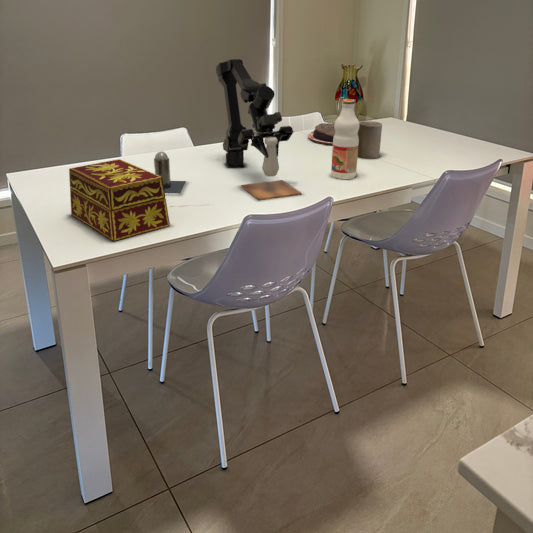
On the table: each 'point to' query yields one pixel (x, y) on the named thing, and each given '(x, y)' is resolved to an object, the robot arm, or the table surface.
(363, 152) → the pillar candle
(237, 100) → the robot arm
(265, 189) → the oak board
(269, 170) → the salt shaker
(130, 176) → the decorative box
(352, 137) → the fruit juice
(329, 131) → the chocolate cake
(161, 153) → the pepper shaker
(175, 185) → the slate mat
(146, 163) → the table surface
